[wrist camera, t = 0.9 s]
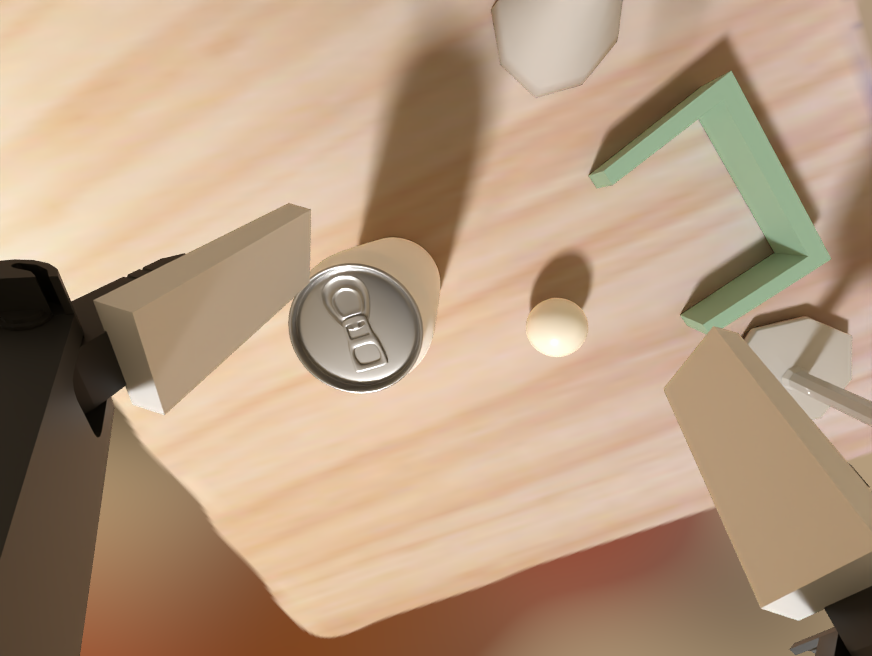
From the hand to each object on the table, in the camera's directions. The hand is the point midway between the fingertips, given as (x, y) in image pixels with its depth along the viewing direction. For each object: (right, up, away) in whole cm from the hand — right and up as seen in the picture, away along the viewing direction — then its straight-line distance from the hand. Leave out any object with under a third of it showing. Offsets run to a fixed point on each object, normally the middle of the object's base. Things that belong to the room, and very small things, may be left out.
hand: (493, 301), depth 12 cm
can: (-5, +2, +15) cm, 16 cm away
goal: (+15, +6, +13) cm, 20 cm away
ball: (+6, -1, +13) cm, 14 cm away
